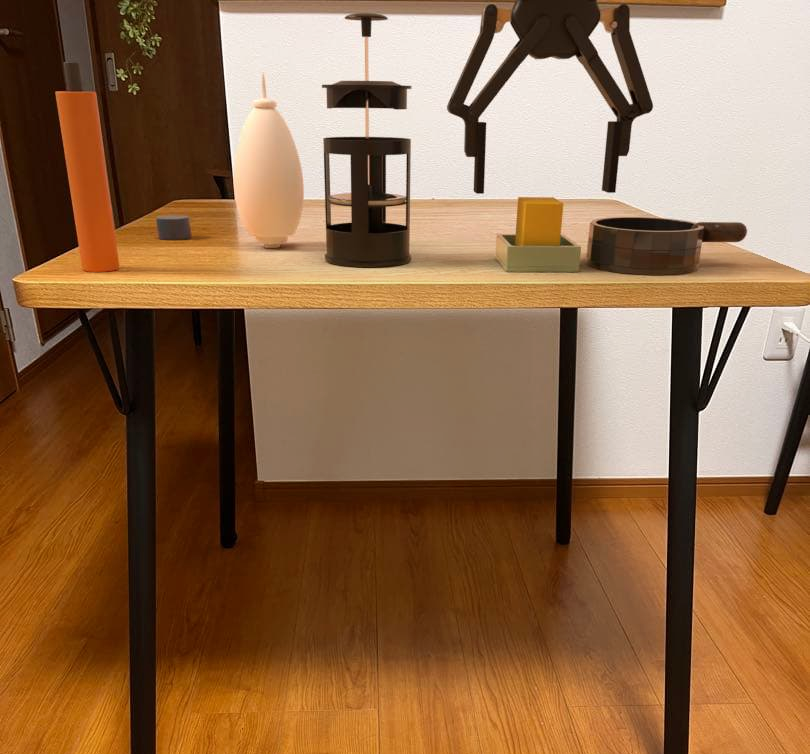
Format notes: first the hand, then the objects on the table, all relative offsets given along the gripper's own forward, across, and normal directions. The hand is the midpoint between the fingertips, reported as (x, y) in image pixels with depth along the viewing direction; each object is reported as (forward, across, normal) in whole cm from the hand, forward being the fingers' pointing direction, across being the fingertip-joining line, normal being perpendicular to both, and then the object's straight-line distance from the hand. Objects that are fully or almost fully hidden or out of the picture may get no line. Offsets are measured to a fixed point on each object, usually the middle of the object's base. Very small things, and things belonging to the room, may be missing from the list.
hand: (543, 192), depth 90 cm
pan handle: (+5, +19, 0) cm, 20 cm away
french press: (+7, -18, +3) cm, 20 cm away
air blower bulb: (+7, -29, +12) cm, 32 cm away
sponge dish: (+7, 0, 0) cm, 7 cm away
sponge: (+7, 0, 0) cm, 7 cm away
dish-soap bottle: (+7, -45, -3) cm, 46 cm away
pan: (+7, +11, 0) cm, 13 cm away
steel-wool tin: (+7, -42, +18) cm, 46 cm away
